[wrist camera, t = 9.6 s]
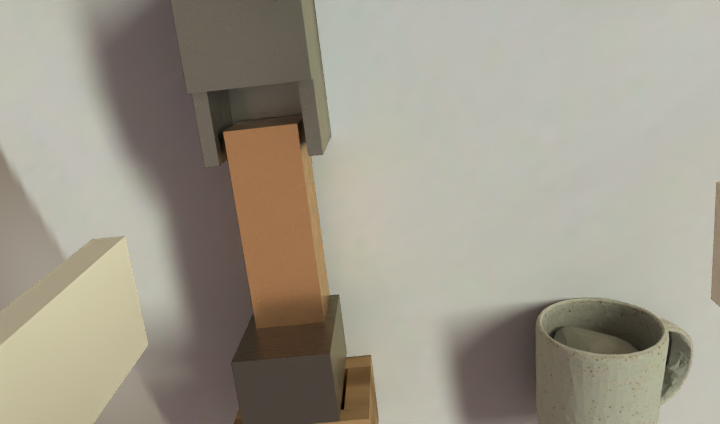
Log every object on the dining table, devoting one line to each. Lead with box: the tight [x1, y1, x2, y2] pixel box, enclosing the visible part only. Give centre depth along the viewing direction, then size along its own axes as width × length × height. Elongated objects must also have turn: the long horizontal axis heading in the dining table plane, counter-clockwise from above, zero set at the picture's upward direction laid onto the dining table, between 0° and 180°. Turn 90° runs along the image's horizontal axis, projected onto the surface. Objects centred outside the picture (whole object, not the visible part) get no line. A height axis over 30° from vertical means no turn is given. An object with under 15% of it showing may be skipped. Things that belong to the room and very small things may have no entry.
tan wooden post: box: [223, 115, 347, 424], centre depth 38 cm, size 20×5×8 cm, turn 7°
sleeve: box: [170, 0, 331, 167], centre depth 37 cm, size 11×6×7 cm, turn 7°
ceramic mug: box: [536, 298, 693, 424], centre depth 42 cm, size 11×8×8 cm
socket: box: [234, 355, 378, 424], centre depth 43 cm, size 5×8×8 cm, turn 97°
